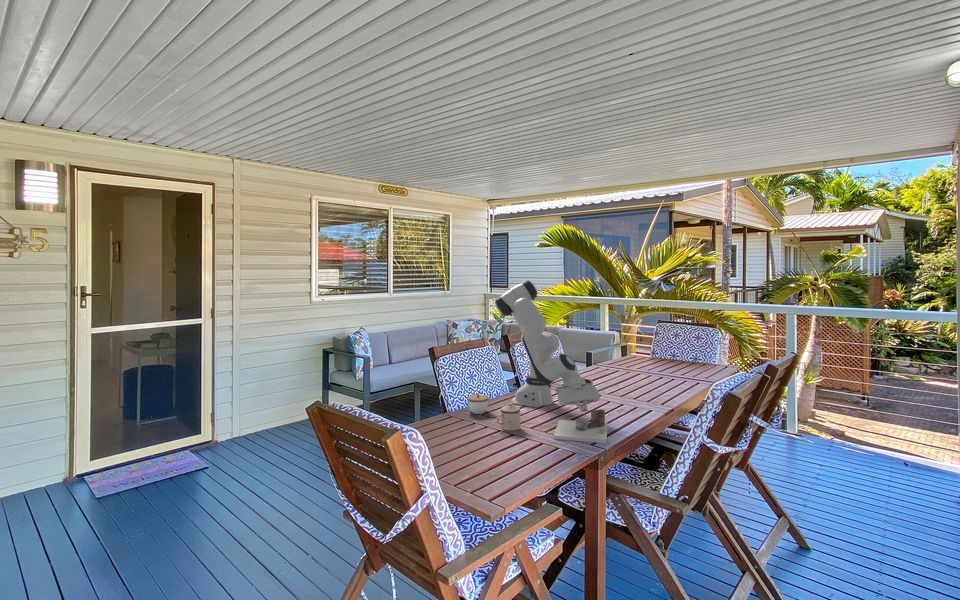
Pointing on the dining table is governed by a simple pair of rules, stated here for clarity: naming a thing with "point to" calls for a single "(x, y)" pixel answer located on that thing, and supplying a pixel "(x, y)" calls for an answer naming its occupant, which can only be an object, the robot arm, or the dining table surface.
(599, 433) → the plate
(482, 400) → the lidded jar
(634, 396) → the dining table surface
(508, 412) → the teacup with lid
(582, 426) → the tuning peg
